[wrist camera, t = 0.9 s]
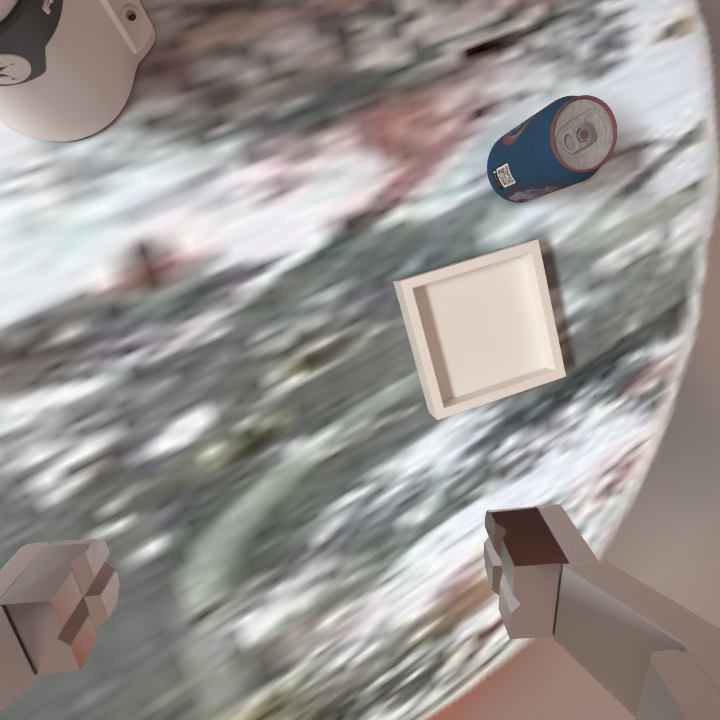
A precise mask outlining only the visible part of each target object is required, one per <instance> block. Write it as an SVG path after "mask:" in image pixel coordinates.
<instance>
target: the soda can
mask: <svg viewBox="0 0 720 720" xmlns="http://www.w3.org/2000/svg"><path fill="white" fill-rule="evenodd" d="M616 139H617V125H616V120H615V117H614V115H613V113H612V111H611V109H610V108H609V107H608V105H607V104H606V103H604V102H603V101H602V100H600V99H598V98H596V97H593V96H588V95H583V96H566V97H563V98H560V99H558V100H556V101H554V102H553V103H551V104H550V105H548V106H547V107H545V108H544V109H542V110H541V111H539V112H538V113H536V114H535V115H533V116H532V117H530V118H529V119H527V120H526V121H525V122H523V123H522V124H520V125H519V126H517V127H516V128H514V129H513V130H511V131H510V132H508V133H507V134H505V135H504V136H503V137H501V138H500V139H499V140H498V141H497V142H496V143H495V145H494V146H493V148H492V150H491V152H490V154H489V158H488V163H487V173H488V178H489V181H490V184H491V186H492V187H493V189H494V190H495V191H496V193H497V194H498V195H500V196H501V197H502V198H504V199H506V200H508V201H512V202H525V201H528V200H531V199H534V198H537V197H540V196H542V195H545V194H548V193H551V192H554V191H557V190H560V189H562V188H565V187H568V186H571V185H574V184H577V183H580V182H582V181H585V180H587V179H588V178H590V177H591V176H592V175H594V174H595V173H596V172H597V171H598V169H599V168H600V167H601V165H602V164H604V163H605V162H606V161H607V159H608V158H609V157H610V155H611V153H612V152H613V149H614V147H615V144H616Z"/></svg>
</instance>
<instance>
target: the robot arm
mask: <svg viewBox="0 0 720 720" xmlns="http://www.w3.org/2000/svg"><path fill="white" fill-rule="evenodd" d="M130 15H136V19H135V20H134V21H130V20H128V18H129V16H130ZM155 37H156V34H155V30H154V27H153V25H152V23H151V21H150V20H149V18H148V16H147V14H146V12H145V10H144V8H143V7H142V5H141V3H140V1H139V0H0V122H1V123H2V124H4V125H5V126H7V127H9V128H10V129H12V130H14V131H16V132H18V133H21V134H23V135H26V136H28V137H32V138H35V139H39V140H45V141H54V142H63V141H73V140H78V139H82V138H85V137H88V136H90V135H92V134H95V133H97V132H98V131H100V130H102V129H103V128H105V127H106V126H107V125H108V124H110V123H111V122H112V121H113V120H114V119H115V118H116V117H117V115H118V114H119V113H120V112H121V110H122V109H123V107H124V105H125V104H126V102H127V100H128V97H129V95H130V92H131V89H132V85H133V81H134V77H135V73H136V69H137V67H138V64H139V63H140V62H141V60H142V59H143V58H144V57H145V55H146V54H147V53H148V52H149V50H150V49H151V47H152V46H153V44H154V41H155ZM485 528H486V530H487V533H488V535H489V537H488V539H487V540H486V541H485V542H484V559H485V567H486V572H487V576H488V580H489V583H490V585H491V588H492V590H493V591H494V592H495V593H497V594H498V595H499V611H500V614H501V616H502V619H503V622H504V624H505V627H506V630H507V633H508V635H509V638H510V639H517V638H539V637H554V640H555V641H556V642H557V643H558V644H559V645H560V646H562V647H563V648H564V649H565V650H566V651H567V652H568V653H569V654H570V655H571V656H572V657H573V658H574V659H575V660H576V661H577V662H578V663H579V664H580V665H581V666H583V668H584V669H586V670H587V671H588V672H589V673H590V674H591V675H592V676H593V677H594V678H595V679H596V680H597V681H598V682H599V683H600V684H601V685H602V686H603V687H604V688H605V689H606V690H608V691H609V692H610V693H611V694H612V695H613V696H614V697H615V698H616V699H617V700H618V701H619V702H620V703H621V704H622V705H623V706H624V707H625V708H626V709H627V710H628V711H630V712H631V713H632V714H633V715H634V716H635V717H636V720H720V628H718V627H716V626H715V625H713V624H711V623H710V622H708V621H706V620H705V619H703V618H701V617H700V616H698V615H696V614H695V613H693V612H691V611H690V610H688V609H686V608H684V607H683V606H681V605H679V604H677V603H676V602H674V601H673V600H671V599H669V598H668V597H666V596H664V595H663V594H661V593H659V592H657V591H656V590H654V589H652V588H651V587H649V586H647V585H646V584H644V583H642V582H640V581H639V580H637V579H636V578H634V577H632V576H630V575H629V574H627V573H625V572H624V571H622V570H620V569H619V568H617V567H615V566H613V565H612V564H610V563H609V562H607V561H602V562H599V561H598V560H597V558H596V557H595V555H594V554H593V552H592V551H591V549H590V548H589V546H588V545H587V543H586V542H585V540H584V539H583V537H582V536H581V534H580V533H579V531H578V530H577V529H576V527H575V526H574V524H573V523H572V521H571V520H570V518H569V517H568V515H567V514H566V512H565V511H564V509H563V508H562V507H561V506H560V505H558V504H553V505H542V506H534V507H525V508H513V509H500V510H488V511H487V512H486V516H485ZM109 555H110V552H109V550H108V547H107V545H106V542H105V541H102V540H99V539H93V540H73V541H53V542H42V543H29V544H27V545H25V546H23V547H21V548H20V549H19V550H18V551H17V552H16V554H15V555H14V556H13V557H12V558H11V559H10V560H9V561H8V562H7V564H6V565H5V566H4V567H3V568H2V569H1V570H0V711H1V710H2V709H3V708H4V707H5V706H6V705H7V704H8V703H9V702H11V701H12V700H13V699H14V698H15V697H16V696H17V695H18V694H19V693H20V692H21V691H22V690H23V689H24V688H26V687H27V686H28V685H29V684H30V683H31V682H32V681H33V680H34V679H35V678H36V676H35V675H44V674H53V673H63V672H72V671H80V670H81V669H82V667H83V665H84V663H85V661H86V660H87V658H88V656H89V654H90V652H91V650H92V649H93V647H94V645H95V643H96V641H97V639H98V636H97V631H96V628H98V627H99V626H100V625H101V624H102V623H104V622H105V621H106V620H107V619H109V617H110V615H111V614H112V612H113V610H114V608H115V606H116V602H117V598H118V593H119V579H118V576H117V573H116V570H115V569H114V568H113V567H111V566H110V565H109V564H107V563H106V560H107V558H108V556H109Z"/></svg>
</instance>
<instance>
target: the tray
mask: <svg viewBox="0 0 720 720" xmlns="http://www.w3.org/2000/svg"><path fill="white" fill-rule="evenodd" d="M393 282H394V285H395V289H396V293H397V296H398V300H399V304H400V307H401V311H402V315H403V319H404V322H405V326H406V330H407V333H408V337H409V341H410V344H411V348H412V352H413V355H414V359H415V363H416V367H417V370H418V374H419V378H420V381H421V385H422V389H423V392H424V396H425V400H426V403H427V407H428V411H429V413H430V414H431V415H432V416H434V417H435V418H436V419H437V420H439V419H442V418H445V417H448V416H451V415H454V414H457V413H460V412H462V411H465V410H468V409H471V408H474V407H477V406H480V405H483V404H486V403H489V402H492V401H495V400H498V399H501V398H504V397H507V396H510V395H513V394H516V393H519V392H522V391H524V390H527V389H530V388H533V387H536V386H539V385H542V384H545V383H548V382H551V381H554V380H557V379H560V378H563V377H566V374H565V369H564V364H563V359H562V354H561V349H560V344H559V339H558V334H557V329H556V324H555V319H554V314H553V309H552V305H551V300H550V295H549V290H548V285H547V280H546V275H545V270H544V265H543V260H542V255H541V250H540V245H539V240H532V241H526V242H522V243H519V244H515V245H512V246H509V247H505V248H502V249H499V250H496V251H492V252H489V253H486V254H482V255H479V256H476V257H472V258H469V259H466V260H463V261H459V262H456V263H453V264H449V265H446V266H443V267H439V268H436V269H433V270H430V271H426V272H423V273H420V274H416V275H413V276H410V277H406V278H403V279H400V280H397V281H393Z"/></svg>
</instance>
